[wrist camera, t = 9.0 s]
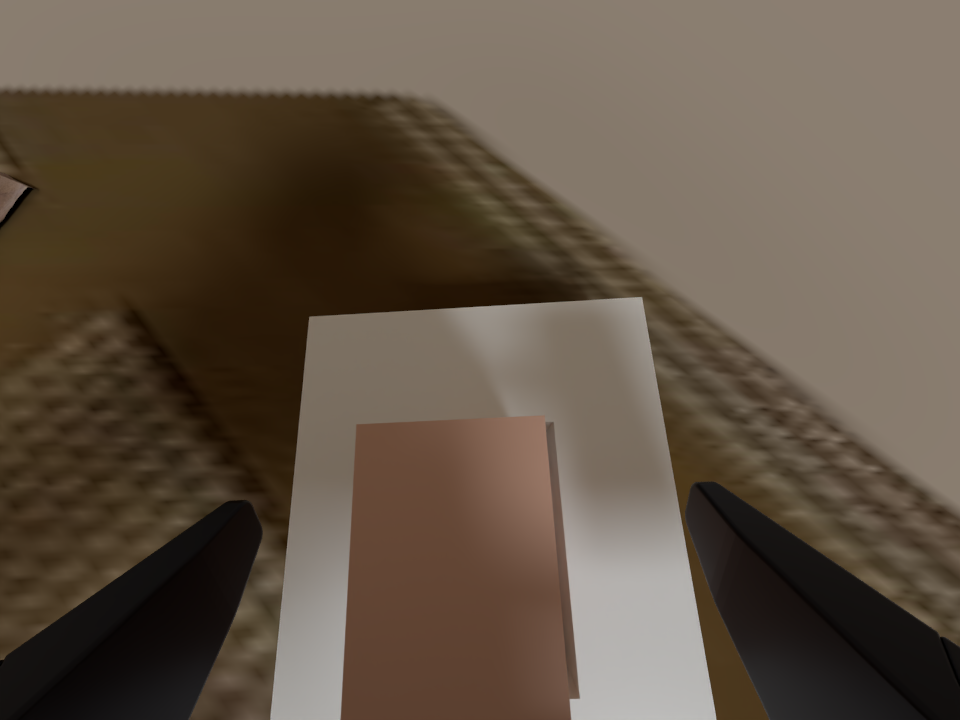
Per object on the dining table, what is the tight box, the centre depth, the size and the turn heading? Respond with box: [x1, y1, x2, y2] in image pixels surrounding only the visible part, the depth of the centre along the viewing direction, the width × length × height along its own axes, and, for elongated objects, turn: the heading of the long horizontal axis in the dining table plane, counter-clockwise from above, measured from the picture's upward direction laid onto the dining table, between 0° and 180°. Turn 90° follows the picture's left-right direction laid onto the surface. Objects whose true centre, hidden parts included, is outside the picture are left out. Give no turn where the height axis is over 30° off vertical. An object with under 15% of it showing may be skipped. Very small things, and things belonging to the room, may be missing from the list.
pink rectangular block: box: [340, 415, 571, 720], centre depth 10 cm, size 6×3×10 cm, turn 2°
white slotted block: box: [270, 297, 716, 720], centre depth 14 cm, size 16×12×4 cm
